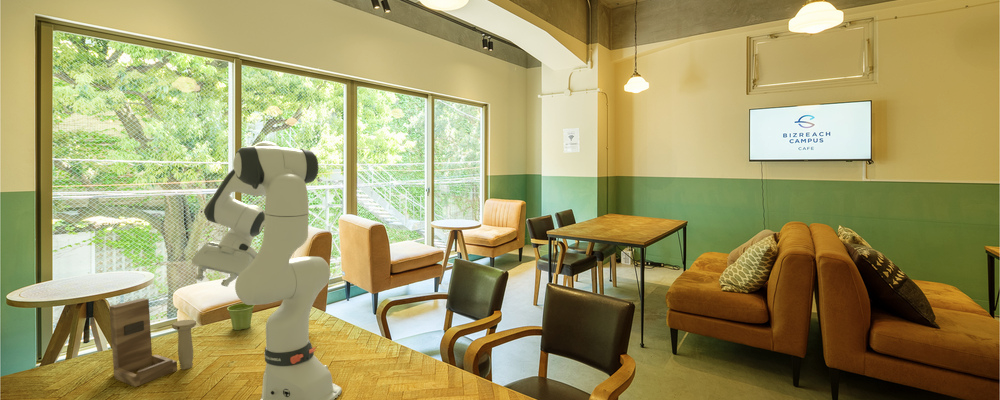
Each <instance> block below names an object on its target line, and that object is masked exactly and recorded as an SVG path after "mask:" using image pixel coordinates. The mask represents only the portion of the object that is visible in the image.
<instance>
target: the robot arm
mask: <svg viewBox="0 0 1000 400" xmlns="http://www.w3.org/2000/svg"><path fill="white" fill-rule="evenodd" d="M232 164H233V165H232V166H233V169H232V170H230V171H229V172H228V173H227V175H226V176H225V177H224V179H223V180H222V182H221V183H220V185H219V187H217V190H216V191H215V192H214V194H213V196H212V197H210V199H209V200H208V201H207V203H206V205H205V206H204V210H203V213H204V217H205V218H206V220H207V221H209V222H212V223H214V224H217V225H221V226H224V227H226V228H229V230H228V231H227V232H226V233H225V234H224V236H223V237H222V238H221V241H220V242H218V243H217V242H213V241H210V242H207V243H205V244H203V245H202V247H201V248H200V249H199V250H198V251H197V252H196V254H195V255H194V256H193V257H192V259H191V263H192V264H193V265H194V266H195V267H198V268H197V275H196V276H195V279H196V280H197V281H201V282H202V281H203V280H204V278H205V275H204V272H206V271H207V270H212V271H215V272H220V273H224V274H229V277H228V278H226V279H223V280H222V282H221V286H223V287H229V285H230V283H231V282H234V280H235V285H234V289H235V293H236V296H237V298H238V299H239V300H240V301H241V303H245V304H247V305H257V306H258V305H268V304H271V303H276V302H279V301H281V304H280V305H279V306H278V308H277V309H276V310H275V311H274V312H272V313H271V314H270V315H269V317H268V318H267V320H266V322H265V340H266V341H265V344H266V346H265V348H264V354H263V355H264V361H265V364H266V365H265V370H264V373H263V375H262V376H263V377H262V390H261V398H260V400H335V398H336V399H337V398H338V397H339V396H340V395H341V394H342V390H343V388H342V387H341V386H339V385H337V384H336V383H333V377H332V373H331V371H330V370H329V368H328V365H326V364H323V363H322V362H321V361H320V360H319V358H318V357H316V355H315V352H316V351H317V350H316V348H317V347H316V346H314V347H313V346H312V343H311V341H310V337H309V335H310V334H309V329H310V328H309V327H310V324H309V323H310V314H311V311H312V308H313V305H314V303H315V301H316V299H317V297H318V295H319V293H320V292H321V291H322V290H323V289H324V288H325V287H326V286H327V285H328V283H329V281H330V278H331V269H330V266H329V265H330V264H329V263H328V262H327V261H326V259H324V258H323V257H321V256H310V255H309V256H301V257H300V256H299V257H294V258H291V257H292V256H293V254H294V253H295V252H296V251H297V250H298V249H300V248H301V247H303V245H305V244H306V242H307V240H308V238H309V214H310V213H309V195H308V194H309V193H308V188H307V184H310V183H312V182H314V181H315V179H316V178H317V176H318V174H319V162H318V158H317V156H316V154H315V153H314V152H312V151H310V150H308V149H305V148H292V147H291V148H290V147H282V146H280V145H278V144H277V143H275V142H271V141H259V142H258V143H256V144H255V145H249V146H242V147H240V148H238V150H237V151H236V153H235V155H234V159H233V163H232ZM232 193H242V194H246V195H249V196H255V197H259V196H265V202H264V209H263V207H260V206H259V205H255V204H248V203H244V202H242V201H241V200H237V199H235V198H234V197H232V196H231V195H232ZM262 230H263V237H262V242H261V244H260V248H259V250H258V252H257V251H256V250H255V249H254V248H253V247H252V246H251V245H252V242H253V240H254V238H255V237H256V236H259V235H260V234H261V232H262ZM338 395H339V396H338Z"/></svg>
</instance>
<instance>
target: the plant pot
mask: <svg viewBox="0 0 1000 400" xmlns="http://www.w3.org/2000/svg"><path fill="white" fill-rule="evenodd" d="M254 308H255V305H247V304H245V303H243V302H240V303H235V304H232V305H230V306H227V308H226V309H227V311H228V314H229V317H230V321H231V325H232V330H235V331H241V330H246V329H249V328H250V327H251V323H252V316H253V311H254Z"/></svg>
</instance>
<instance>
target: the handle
mask: <svg viewBox="0 0 1000 400" xmlns="http://www.w3.org/2000/svg"><path fill="white" fill-rule="evenodd" d="M196 325H197V320H193V319H183V320H178V321H174V322H173V323H172V324H171V327H172V329H174V330H176V331H177V333H178V335H177V336H178V337H177V340H178V341H177V355H178V356H177V357H178V362H179V367H180V369H181V370H186V369H187V370H189V369H191V368H193V366H194V365H193V364H194V345H193V338H192V337H193V336H192V329H193V328H194V327H196Z"/></svg>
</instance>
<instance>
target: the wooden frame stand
mask: <svg viewBox="0 0 1000 400" xmlns="http://www.w3.org/2000/svg"><path fill="white" fill-rule="evenodd" d="M108 308H109V309H108V310H109V321H110V335H111V338H110V339H111V349H112V350H111V351H112V352H111V353H112V362H113V363H112V365H113V375H114V379H115V380H116V381H119V382H122V383H125V384H127V385H130V386H131V387H135V388H136V387H139V386H141V385H143V384H146V383H149V382H151V381H154V380H157V379H159V378H161V377H163V376H167V375H169V374H172V373H173V372H176V371H178V361H177V360H174V359H171V358H170V357H169V358H168V357H165V356H163V355H159V354H153V349H152V333H151V331H152V330H151V316H150V300H149V299H148V298H145V297H141V298H137V299H133V300H129V301H126V302H125V301H124V302H121V303H117V304H113V305H109V307H108ZM134 372H136V373H134Z"/></svg>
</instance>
